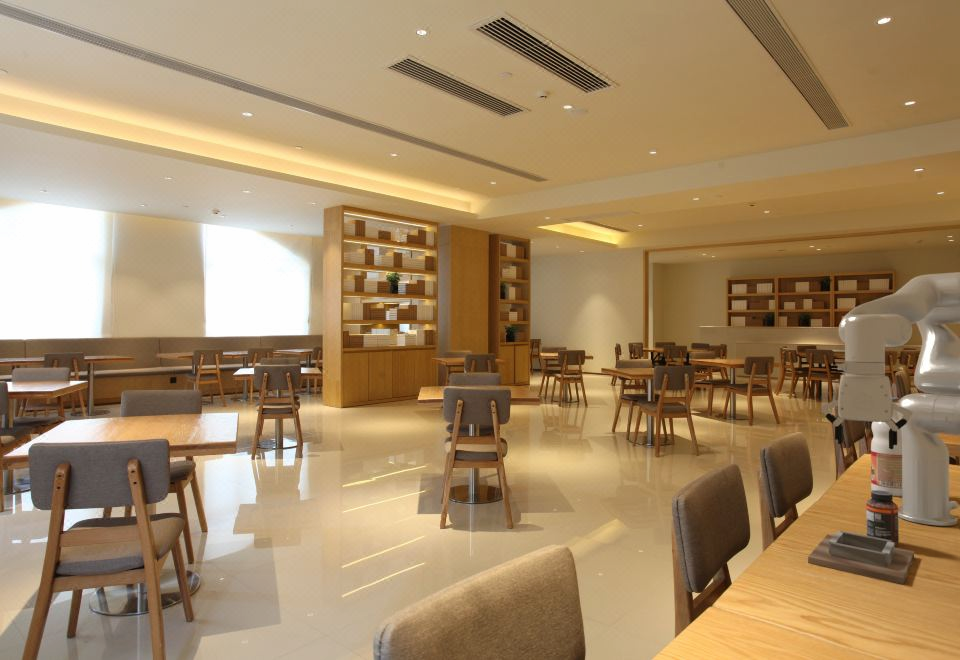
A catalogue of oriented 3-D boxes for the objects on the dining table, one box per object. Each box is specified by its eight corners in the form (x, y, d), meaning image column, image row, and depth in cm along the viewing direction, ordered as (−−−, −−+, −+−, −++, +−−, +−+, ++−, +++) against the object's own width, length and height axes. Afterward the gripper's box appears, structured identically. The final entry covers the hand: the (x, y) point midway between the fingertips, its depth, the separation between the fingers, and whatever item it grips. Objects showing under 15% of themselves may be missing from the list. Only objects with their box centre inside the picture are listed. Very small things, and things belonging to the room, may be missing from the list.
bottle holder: (827, 539, 135) (827, 523, 135) (914, 557, 124) (913, 539, 124) (808, 562, 121) (808, 544, 121) (903, 584, 111) (903, 564, 111)
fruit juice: (891, 498, 169) (890, 399, 169) (863, 489, 178) (862, 396, 178) (918, 496, 171) (917, 399, 171) (889, 487, 180) (888, 395, 180)
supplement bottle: (893, 539, 135) (893, 490, 135) (902, 548, 129) (902, 497, 129) (863, 536, 137) (863, 487, 137) (870, 545, 131) (870, 494, 131)
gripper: (818, 369, 136) (818, 444, 136) (911, 372, 125) (912, 453, 125) (823, 367, 142) (824, 439, 142) (912, 370, 131) (913, 447, 131)
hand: (865, 445), depth 133 cm, fingers open, 9 cm apart
